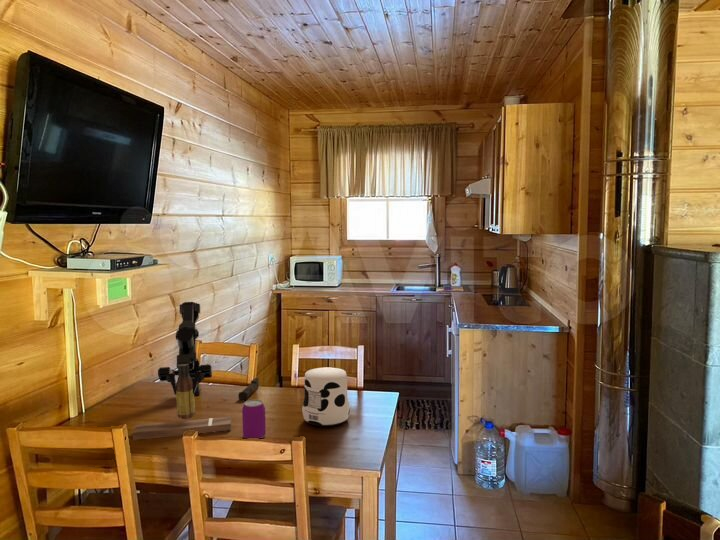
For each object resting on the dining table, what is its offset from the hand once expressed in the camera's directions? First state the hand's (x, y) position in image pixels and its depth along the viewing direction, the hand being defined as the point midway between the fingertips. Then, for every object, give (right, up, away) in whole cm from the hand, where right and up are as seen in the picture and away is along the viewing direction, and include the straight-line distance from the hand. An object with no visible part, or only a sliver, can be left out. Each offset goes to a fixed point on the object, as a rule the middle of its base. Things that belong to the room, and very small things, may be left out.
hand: (184, 393), depth 188 cm
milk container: (+51, -11, +2) cm, 52 cm away
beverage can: (+28, -12, -11) cm, 32 cm away
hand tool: (+16, -8, +34) cm, 39 cm away
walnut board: (+2, -12, -6) cm, 13 cm away
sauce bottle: (0, -9, +2) cm, 9 cm away
